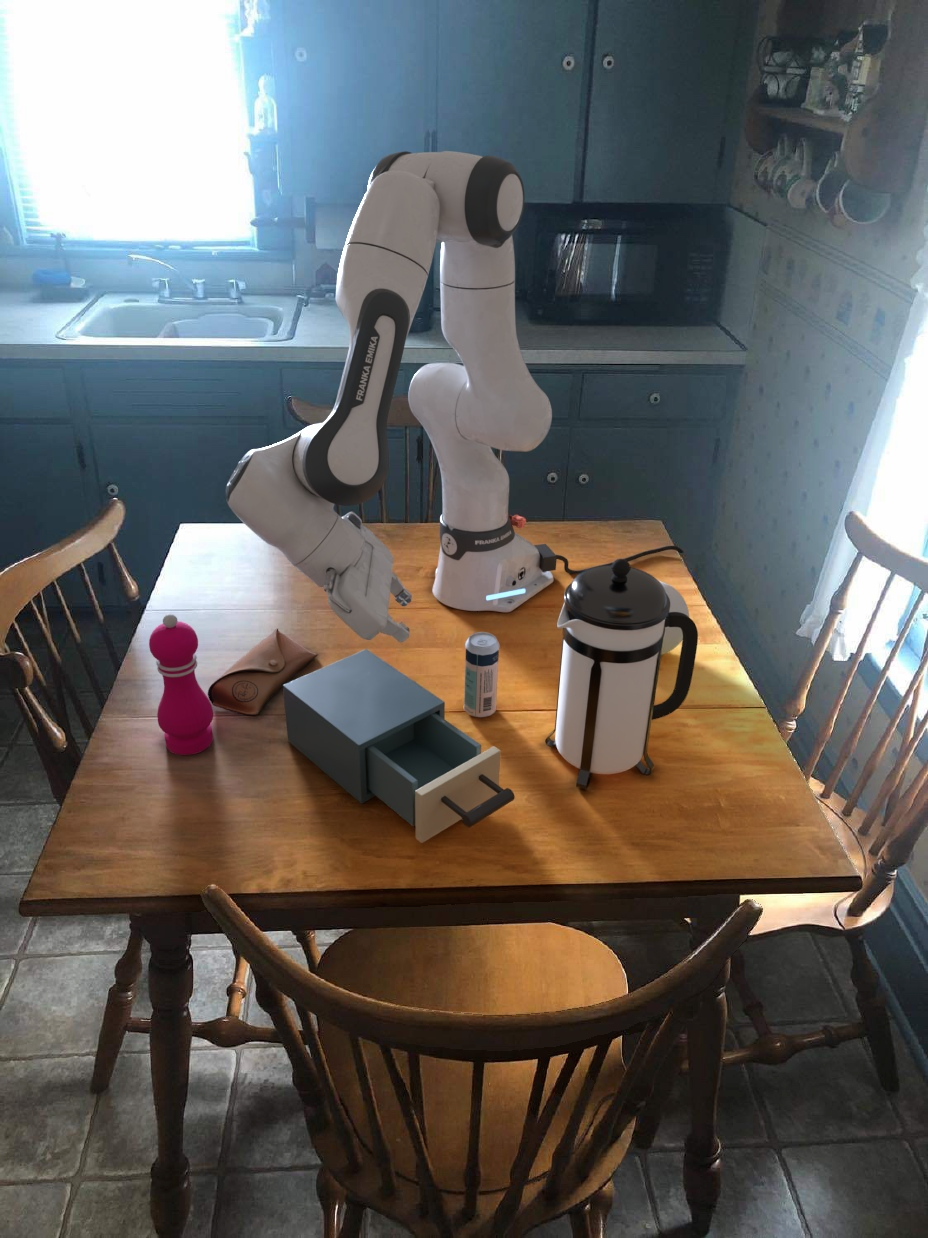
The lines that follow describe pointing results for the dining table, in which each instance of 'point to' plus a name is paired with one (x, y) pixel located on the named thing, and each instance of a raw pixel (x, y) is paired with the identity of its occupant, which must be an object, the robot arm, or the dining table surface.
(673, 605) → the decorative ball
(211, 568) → the dining table surface
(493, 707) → the beer can
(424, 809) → the drawer
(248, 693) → the sunglasses case
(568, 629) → the coffee press
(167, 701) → the pepper mill
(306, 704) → the cabinet
